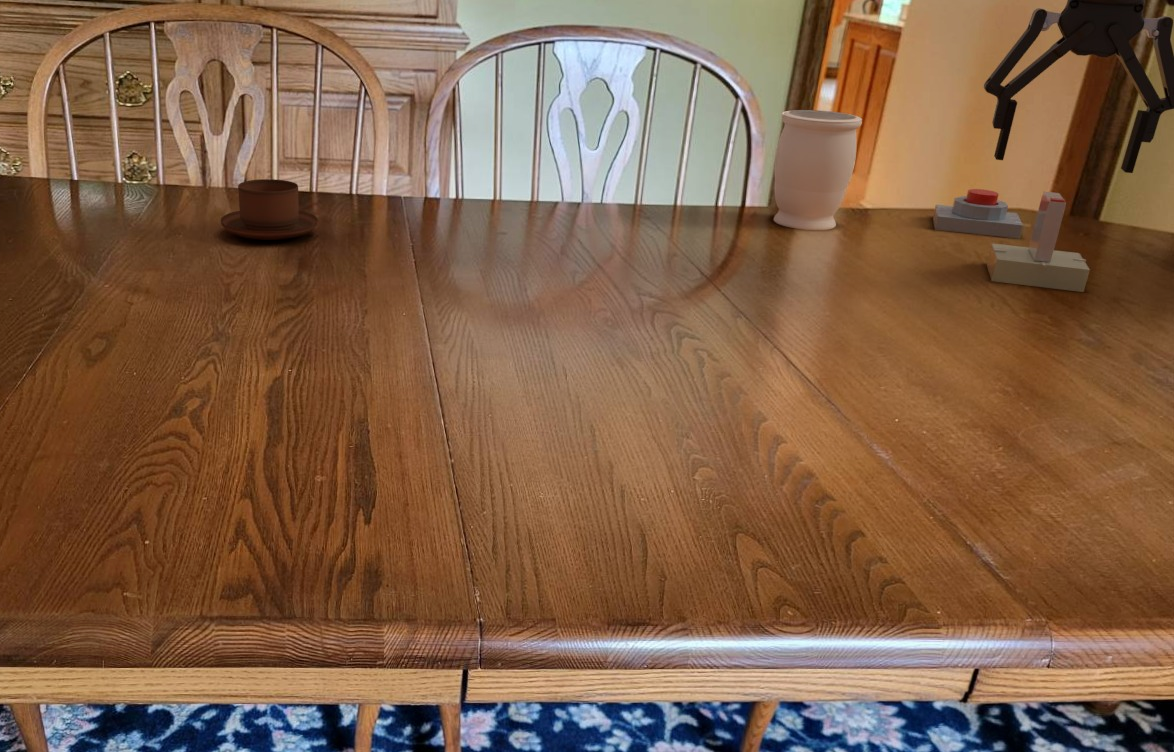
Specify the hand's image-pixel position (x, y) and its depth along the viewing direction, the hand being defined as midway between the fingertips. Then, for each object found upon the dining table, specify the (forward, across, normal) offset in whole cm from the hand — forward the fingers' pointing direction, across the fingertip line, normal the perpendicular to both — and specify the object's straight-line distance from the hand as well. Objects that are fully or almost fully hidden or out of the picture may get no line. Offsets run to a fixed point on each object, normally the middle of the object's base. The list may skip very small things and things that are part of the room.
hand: (1061, 164), depth 127 cm
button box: (+14, -5, +25) cm, 29 cm away
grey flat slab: (+11, 0, 0) cm, 11 cm away
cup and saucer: (+15, -91, -23) cm, 95 cm away
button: (+10, -5, +25) cm, 28 cm away
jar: (+14, -28, +16) cm, 35 cm away
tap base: (+14, 0, 0) cm, 14 cm away
